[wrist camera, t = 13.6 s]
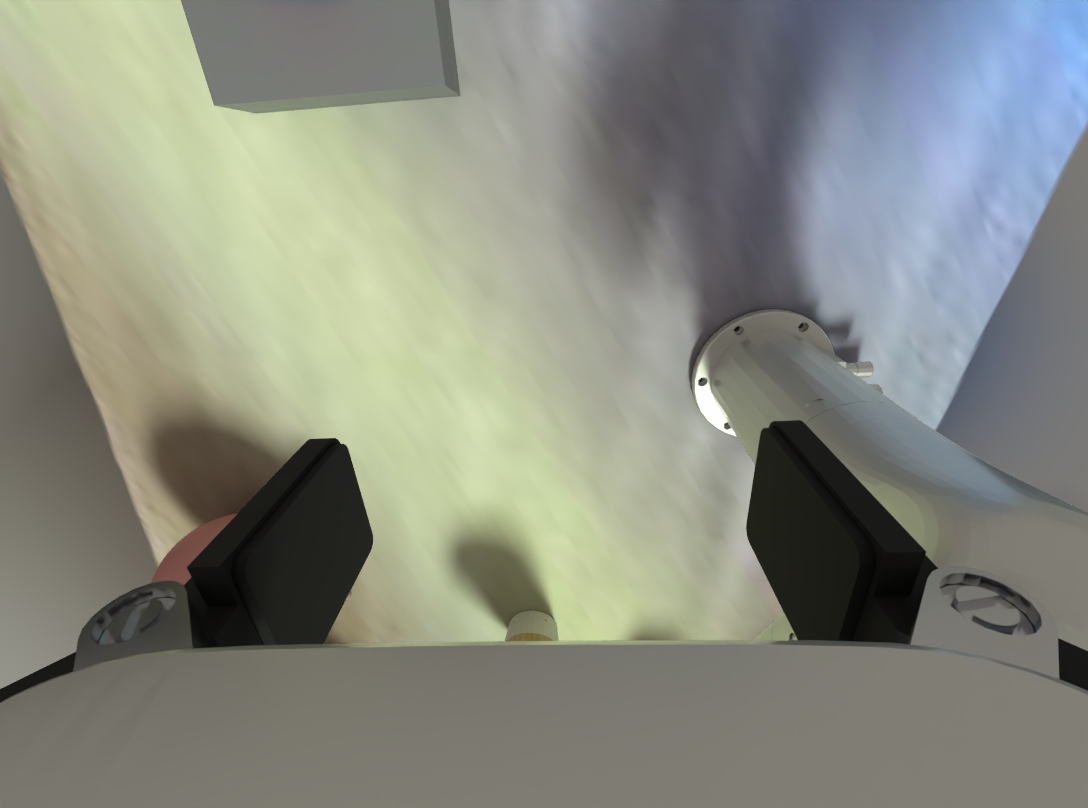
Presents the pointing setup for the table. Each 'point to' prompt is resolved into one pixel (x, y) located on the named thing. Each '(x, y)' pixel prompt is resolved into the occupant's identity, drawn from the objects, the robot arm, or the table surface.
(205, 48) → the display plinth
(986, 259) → the table surface
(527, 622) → the coffee cup
